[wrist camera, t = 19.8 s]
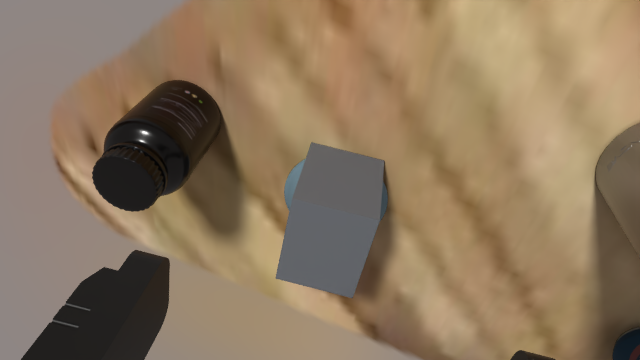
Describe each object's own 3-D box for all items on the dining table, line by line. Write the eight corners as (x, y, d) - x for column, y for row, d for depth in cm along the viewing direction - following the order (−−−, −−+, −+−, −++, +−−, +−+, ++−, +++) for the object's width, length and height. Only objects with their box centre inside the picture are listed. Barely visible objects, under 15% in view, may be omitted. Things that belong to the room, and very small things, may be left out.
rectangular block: (384, 160, 43) (379, 220, 36) (360, 232, 48) (352, 298, 41) (311, 142, 43) (292, 198, 36) (295, 216, 48) (275, 278, 41)
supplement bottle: (203, 158, 46) (147, 239, 36) (139, 117, 44) (63, 189, 35) (236, 107, 42) (185, 181, 32) (169, 61, 41) (93, 124, 31)
